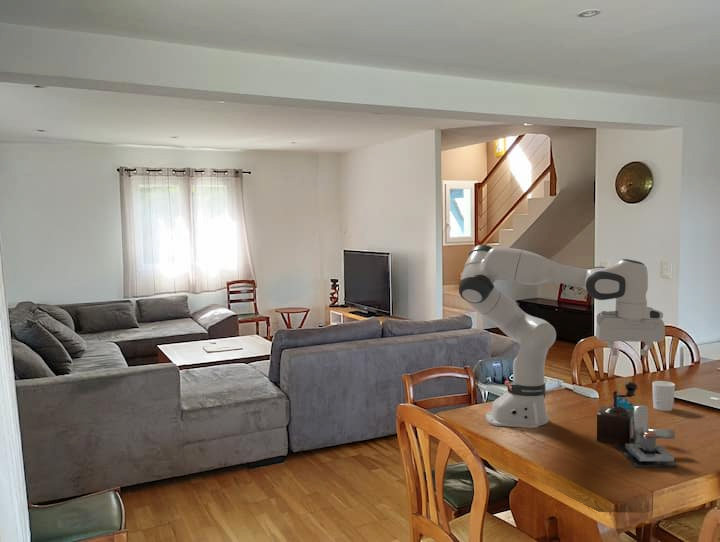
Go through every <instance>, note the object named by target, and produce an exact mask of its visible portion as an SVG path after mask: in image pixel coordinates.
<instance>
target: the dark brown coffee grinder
mask: <svg viewBox="0 0 720 542" xmlns="http://www.w3.org/2000/svg"><path fill="white" fill-rule="evenodd" d="M624 388H625V389H626V393H625V394H618V391H617V390H613V392H612V393H613V394H612V397H613V405H609V406H604V405H603V406H601V407H600V409H599V410H598V412H597V413H596V442H599V443H600V442H601V443H604V444H605V443H606V444H613V445H625V444H633V426H634V422H633V418H634V417H633V410H629V409H626V408H627V407H626V408H623V407H621V406H617V399H618V398H619V397H621V398H627V397H629V398H631V397H635V396H636V394H635V392H636V390H637V389H638V385H637V383H635V382H631V381H630V382H629V381H627V382H626V383H625V384H624Z"/></svg>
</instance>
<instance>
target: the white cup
mask: <svg viewBox="0 0 720 542" xmlns="http://www.w3.org/2000/svg"><path fill="white" fill-rule="evenodd" d="M651 384H652V403H653V405H652V408H653V409H654V410H657V411H661V412H662V411H663V412H671V411H673V409H674V402H675V393H676V392H675V391H676V384H675V383H674V382H672V381H666V380H654V381H652V383H651Z"/></svg>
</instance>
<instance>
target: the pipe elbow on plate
mask: <svg viewBox="0 0 720 542" xmlns="http://www.w3.org/2000/svg"><path fill="white" fill-rule="evenodd" d="M633 408H634V417H633V418H634V422H633V441H632V443H631V444H625V445H618V444H615V448H616V449H617V450H618V451H619V452H620V453H621V454H622V455H623V457H624V458H626V459H627V460H628V462H630V463H631V464H632V465H633V466H634V467H635V468H637V469H638V468H639V469H640V468H641V469H643V468H644V469H645V468H647V469H649V468H650V469H651V468H653V469H654V468H656V469H657V468H658V469H660V468H662V469H664V468H665V469H667V468H668V469H678V464H676V463H675V462H674V461H675V457H674V456H673V455H672V454H671V453H670V452H669V451H667V450H666V449H665V448H664V447H662V446H661V445H660V444H659V443H656V449H655V454H644V453H643V432H644V431H651V432H654V433H656V439H661V440H662V439H664V440H665V439H670V440H671V439H675V437H676V436H675V434H676V433H675V430H674V429H667V428H666V429H663V428H660V429H658V428H657V429H654V428H653V429H652V428H651V429H650V428H649V429H648V427H649V426H648V420H649V407H648V406H647V405H643V404H635V405H634V404H633Z"/></svg>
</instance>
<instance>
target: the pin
mask: <svg viewBox="0 0 720 542" xmlns="http://www.w3.org/2000/svg"><path fill="white" fill-rule="evenodd" d="M656 444H657V440H656V433H654V432H651V431H644V432H643V453H644V454H655V449H656Z"/></svg>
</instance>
